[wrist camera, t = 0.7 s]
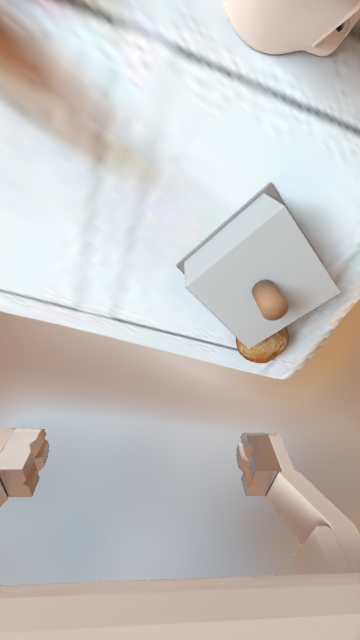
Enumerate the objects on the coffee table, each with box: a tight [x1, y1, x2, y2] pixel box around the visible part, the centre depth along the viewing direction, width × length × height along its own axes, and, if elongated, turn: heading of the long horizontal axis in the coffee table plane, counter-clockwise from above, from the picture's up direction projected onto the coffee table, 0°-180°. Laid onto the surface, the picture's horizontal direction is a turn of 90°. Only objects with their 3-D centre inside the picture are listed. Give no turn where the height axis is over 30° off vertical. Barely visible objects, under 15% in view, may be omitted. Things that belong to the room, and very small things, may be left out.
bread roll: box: [236, 327, 289, 363], centre depth 50 cm, size 10×10×8 cm
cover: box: [184, 193, 341, 349], centre depth 37 cm, size 15×15×14 cm
